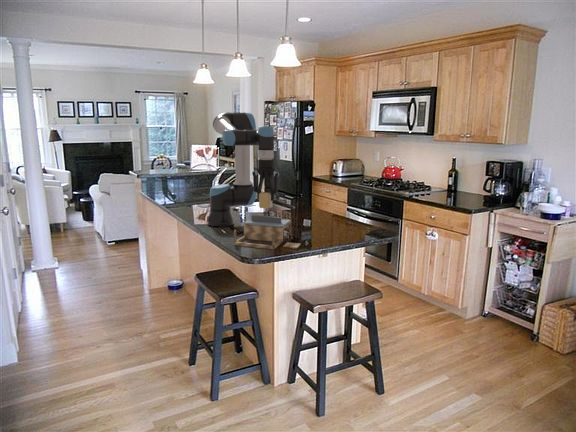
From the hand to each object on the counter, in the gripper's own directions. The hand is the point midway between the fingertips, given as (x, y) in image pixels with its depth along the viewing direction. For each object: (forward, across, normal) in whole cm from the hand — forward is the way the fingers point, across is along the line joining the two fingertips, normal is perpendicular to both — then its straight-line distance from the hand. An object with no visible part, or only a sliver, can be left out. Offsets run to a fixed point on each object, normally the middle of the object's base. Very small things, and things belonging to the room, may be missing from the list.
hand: (265, 206), depth 213 cm
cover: (+11, -4, +13) cm, 18 cm away
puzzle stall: (+19, -4, +7) cm, 21 cm away
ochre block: (0, 0, 0) cm, 0 cm away
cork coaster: (+19, +13, +2) cm, 23 cm away
